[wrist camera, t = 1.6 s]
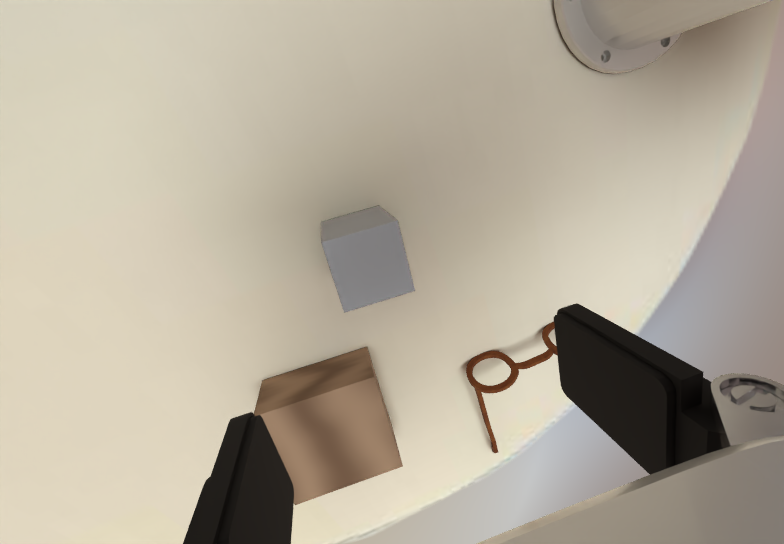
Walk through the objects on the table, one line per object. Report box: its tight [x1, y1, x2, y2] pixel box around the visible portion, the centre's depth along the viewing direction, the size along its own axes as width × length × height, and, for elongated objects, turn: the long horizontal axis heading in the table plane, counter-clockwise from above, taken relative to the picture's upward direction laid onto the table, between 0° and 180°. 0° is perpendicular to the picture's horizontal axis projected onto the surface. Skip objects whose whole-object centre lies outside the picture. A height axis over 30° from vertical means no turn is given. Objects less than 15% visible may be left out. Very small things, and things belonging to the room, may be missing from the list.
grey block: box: [321, 205, 415, 313], centre depth 27 cm, size 5×5×8 cm
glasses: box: [466, 322, 558, 453], centre depth 37 cm, size 13×13×5 cm
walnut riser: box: [254, 347, 403, 505], centre depth 33 cm, size 10×10×5 cm
